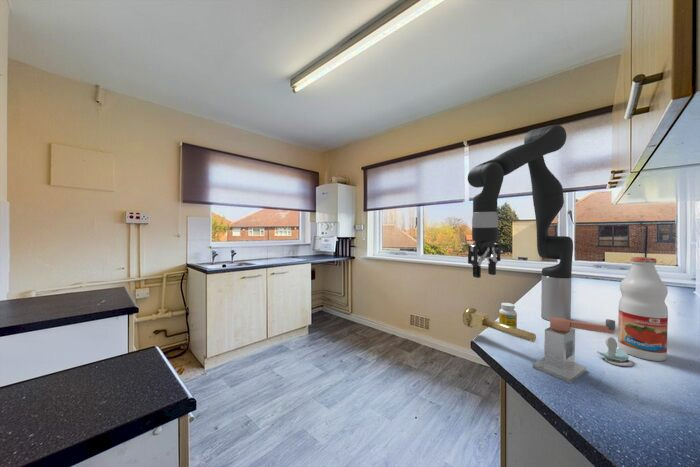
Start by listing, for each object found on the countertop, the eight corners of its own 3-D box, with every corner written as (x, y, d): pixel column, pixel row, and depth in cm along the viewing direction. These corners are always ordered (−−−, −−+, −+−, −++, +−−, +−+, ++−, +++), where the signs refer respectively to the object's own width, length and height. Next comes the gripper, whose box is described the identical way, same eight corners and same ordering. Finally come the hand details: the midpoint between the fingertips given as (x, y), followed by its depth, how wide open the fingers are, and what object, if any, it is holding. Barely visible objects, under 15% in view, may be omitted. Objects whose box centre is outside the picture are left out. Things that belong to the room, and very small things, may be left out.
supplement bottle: (508, 327, 94) (509, 301, 94) (520, 333, 88) (520, 306, 88) (495, 328, 93) (495, 302, 93) (506, 334, 88) (506, 307, 87)
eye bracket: (549, 357, 72) (550, 320, 72) (586, 370, 66) (587, 330, 65) (532, 367, 67) (533, 328, 67) (570, 383, 60) (571, 339, 60)
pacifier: (640, 366, 68) (613, 354, 74) (641, 343, 67) (614, 333, 73) (617, 369, 67) (592, 357, 73) (619, 346, 66) (593, 335, 72)
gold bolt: (473, 323, 90) (473, 305, 90) (539, 346, 73) (539, 324, 73) (462, 327, 87) (462, 309, 87) (528, 352, 70) (528, 329, 70)
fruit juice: (653, 349, 77) (655, 256, 76) (676, 365, 68) (679, 260, 67) (611, 343, 81) (613, 255, 80) (628, 357, 72) (630, 258, 71)
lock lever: (611, 333, 63) (611, 318, 63) (618, 340, 59) (618, 323, 59) (548, 324, 69) (549, 310, 69) (551, 329, 65) (551, 315, 65)
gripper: (483, 226, 76) (482, 280, 76) (508, 226, 83) (508, 275, 84) (460, 226, 82) (460, 276, 83) (486, 226, 90) (486, 272, 90)
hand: (484, 275), depth 83 cm, fingers open, 8 cm apart
